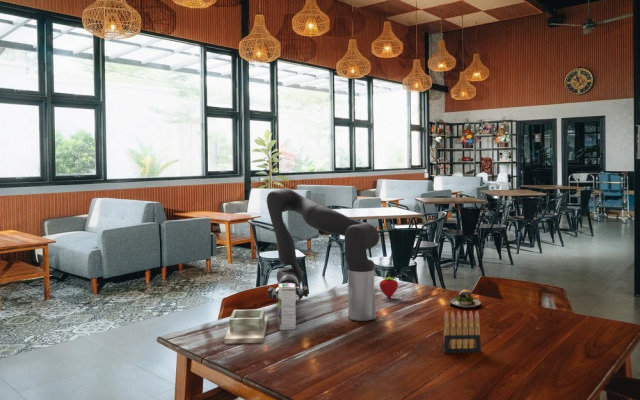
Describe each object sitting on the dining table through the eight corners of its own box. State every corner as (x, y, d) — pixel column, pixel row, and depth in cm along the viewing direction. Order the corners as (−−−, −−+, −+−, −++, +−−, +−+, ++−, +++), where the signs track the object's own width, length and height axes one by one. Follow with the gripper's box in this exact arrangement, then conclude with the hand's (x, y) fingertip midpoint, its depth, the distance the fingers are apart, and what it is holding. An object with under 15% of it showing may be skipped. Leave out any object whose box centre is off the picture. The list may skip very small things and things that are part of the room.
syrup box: (278, 325, 178) (277, 283, 177) (295, 324, 179) (295, 282, 177) (278, 330, 172) (277, 287, 171) (296, 329, 173) (295, 286, 172)
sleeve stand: (267, 320, 183) (267, 305, 183) (263, 342, 161) (263, 325, 161) (233, 321, 183) (233, 306, 182) (224, 343, 161) (223, 326, 160)
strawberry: (377, 296, 213) (377, 272, 213) (396, 295, 214) (395, 271, 213) (381, 300, 207) (381, 275, 207) (399, 299, 208) (399, 274, 208)
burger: (444, 307, 197) (444, 288, 196) (454, 300, 207) (454, 281, 206) (476, 312, 191) (477, 291, 190) (485, 304, 201) (485, 285, 200)
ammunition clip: (479, 350, 152) (479, 309, 151) (481, 352, 150) (481, 311, 150) (442, 350, 152) (442, 310, 152) (443, 352, 151) (443, 312, 150)
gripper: (269, 276, 197) (266, 287, 181) (307, 275, 198) (307, 286, 182) (270, 296, 198) (267, 308, 182) (307, 295, 198) (308, 307, 182)
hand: (287, 297), depth 182 cm, fingers open, 8 cm apart
